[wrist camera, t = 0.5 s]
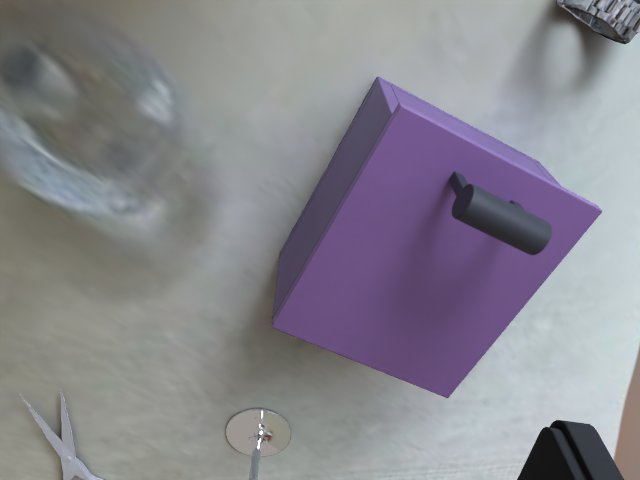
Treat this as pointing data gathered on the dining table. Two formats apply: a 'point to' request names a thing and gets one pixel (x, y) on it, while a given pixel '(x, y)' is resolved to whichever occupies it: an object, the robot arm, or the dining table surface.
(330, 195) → the file box
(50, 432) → the scissors
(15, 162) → the dining table surface
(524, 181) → the lid
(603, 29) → the wristwatch
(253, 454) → the wineglass
